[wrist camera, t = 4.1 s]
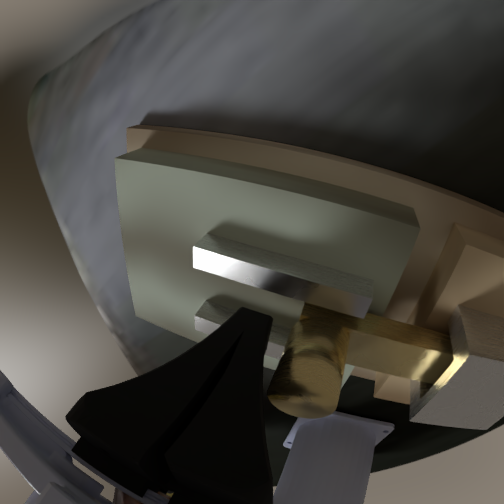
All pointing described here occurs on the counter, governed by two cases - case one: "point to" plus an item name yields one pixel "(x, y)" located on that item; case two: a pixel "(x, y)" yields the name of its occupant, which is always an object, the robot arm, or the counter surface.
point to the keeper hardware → (357, 304)
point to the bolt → (350, 357)
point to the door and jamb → (299, 232)
